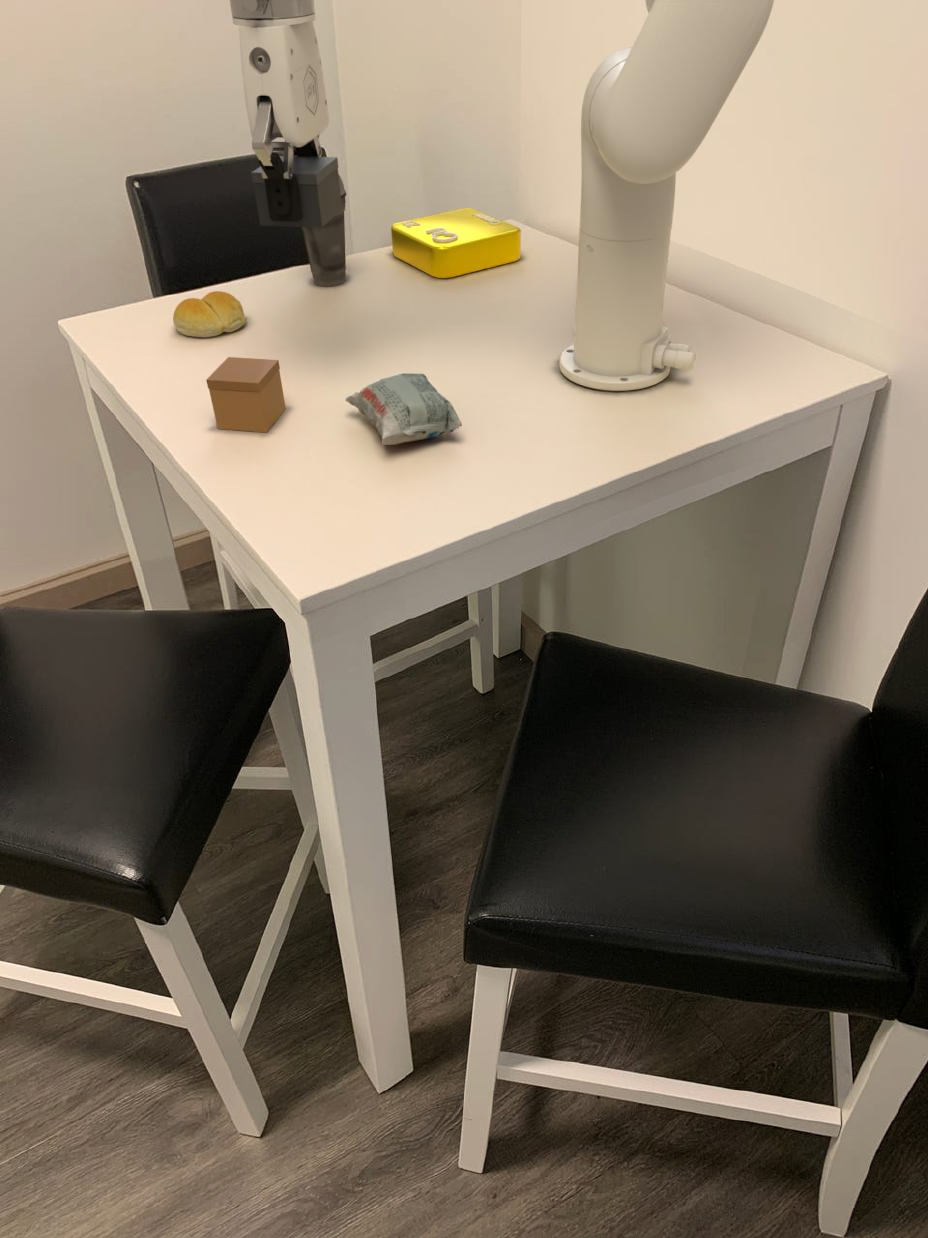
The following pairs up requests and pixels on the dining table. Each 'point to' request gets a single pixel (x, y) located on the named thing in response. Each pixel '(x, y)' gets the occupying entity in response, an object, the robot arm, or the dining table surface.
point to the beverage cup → (328, 248)
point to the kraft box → (246, 394)
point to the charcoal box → (306, 192)
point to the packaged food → (406, 409)
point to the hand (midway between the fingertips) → (298, 207)
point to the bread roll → (209, 315)
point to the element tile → (456, 242)
